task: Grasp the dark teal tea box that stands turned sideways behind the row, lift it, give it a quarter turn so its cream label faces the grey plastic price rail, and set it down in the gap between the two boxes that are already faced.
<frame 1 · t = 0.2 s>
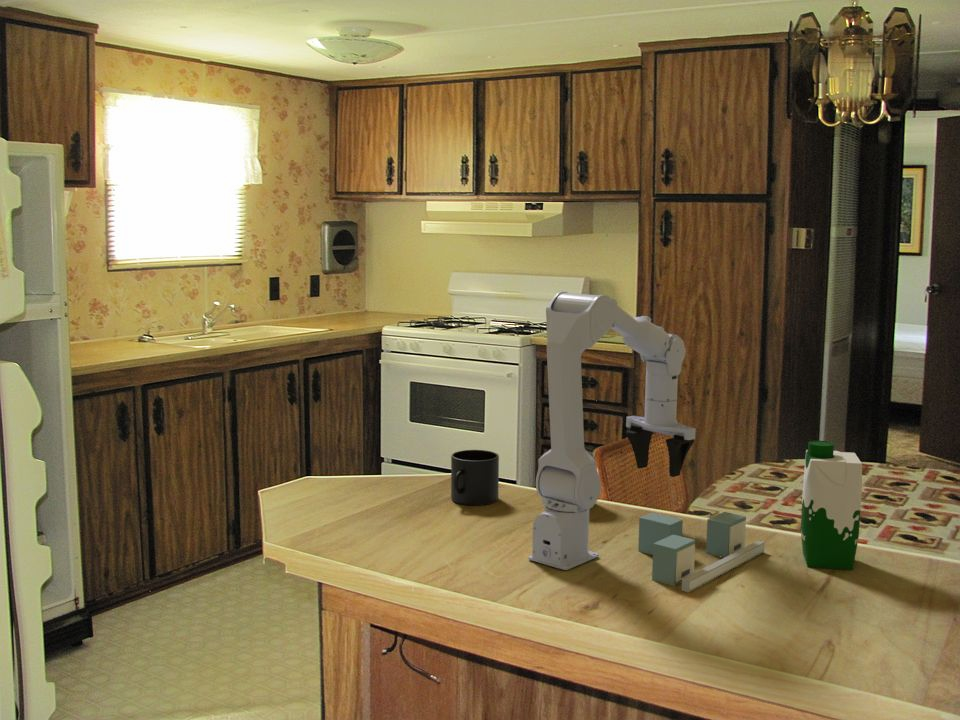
hand: (658, 471, 189), 10 cm above the worktop, fingers open, 7 cm apart
tea box c: (725, 551, 176), on the worktop
cup: (572, 505, 203), on the worktop
tea box b: (659, 552, 175), on the worktop
price rail: (724, 570, 166), on the worktop
milk carton: (827, 562, 171), on the worktop
mug: (471, 501, 205), on the worktop
tea box a: (673, 578, 163), on the worktop
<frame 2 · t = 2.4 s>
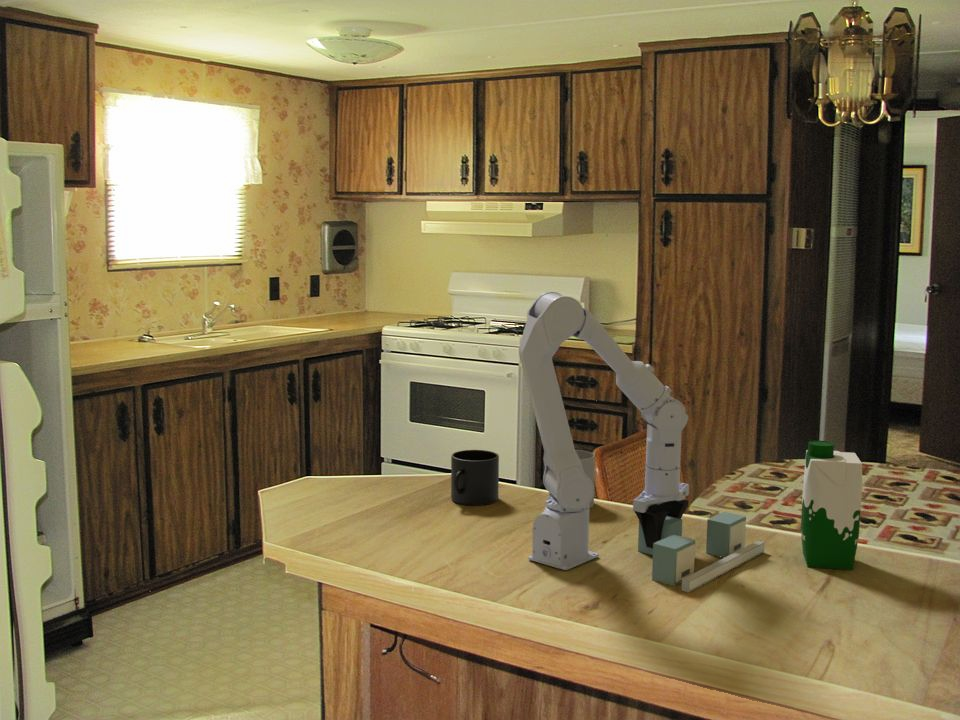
hand: (660, 544, 175), 1 cm above the worktop, fingers closed on tea box b, 4 cm apart
tea box b: (659, 552, 175), on the worktop, touching gripper
everything else where it was.
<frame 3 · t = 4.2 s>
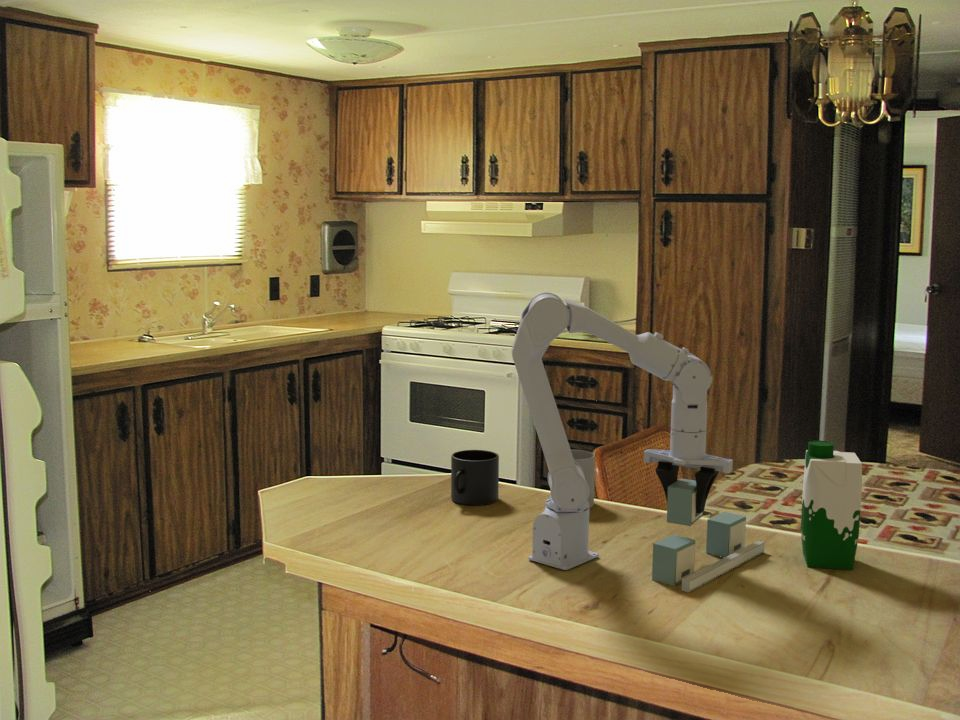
hand: (685, 509, 170), 9 cm above the worktop, fingers closed on tea box b, 4 cm apart
tea box b: (684, 519, 171), point 7 cm above the worktop, touching gripper
everything else where it was.
when the fingers open (2 cm above the worktop, at t = 6.0 s): tea box b stays where it is, on the worktop.
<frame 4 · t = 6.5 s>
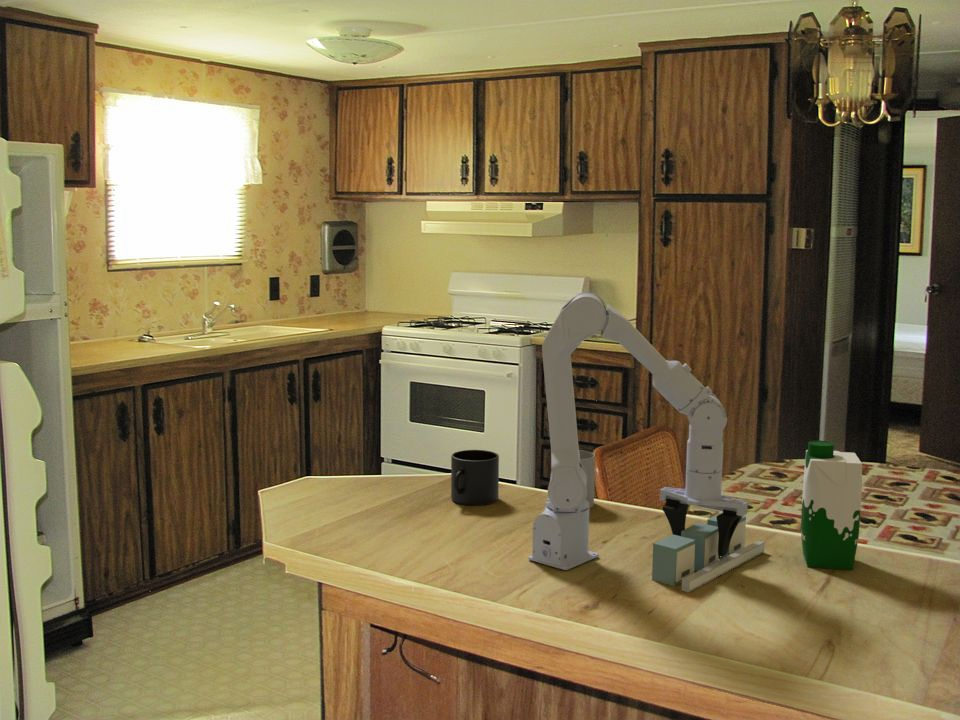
hand: (700, 549, 169), 2 cm above the worktop, fingers open, 7 cm apart
tea box b: (699, 564, 169), on the worktop
everything else where it was.
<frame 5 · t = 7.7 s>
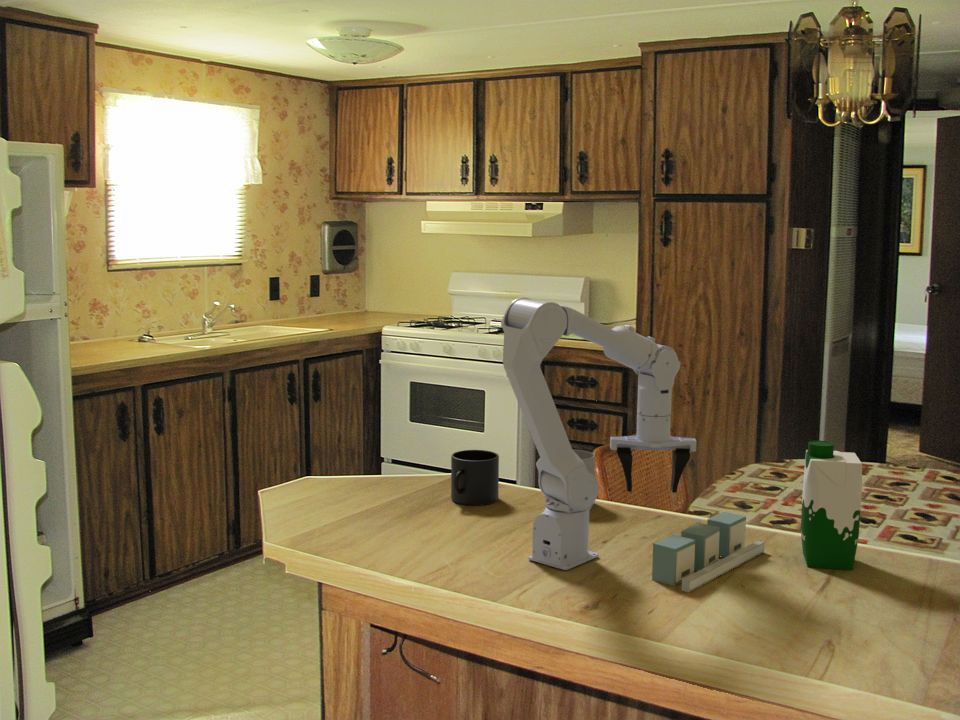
hand: (651, 490, 178), 9 cm above the worktop, fingers open, 7 cm apart
nothing on the worktop moved.
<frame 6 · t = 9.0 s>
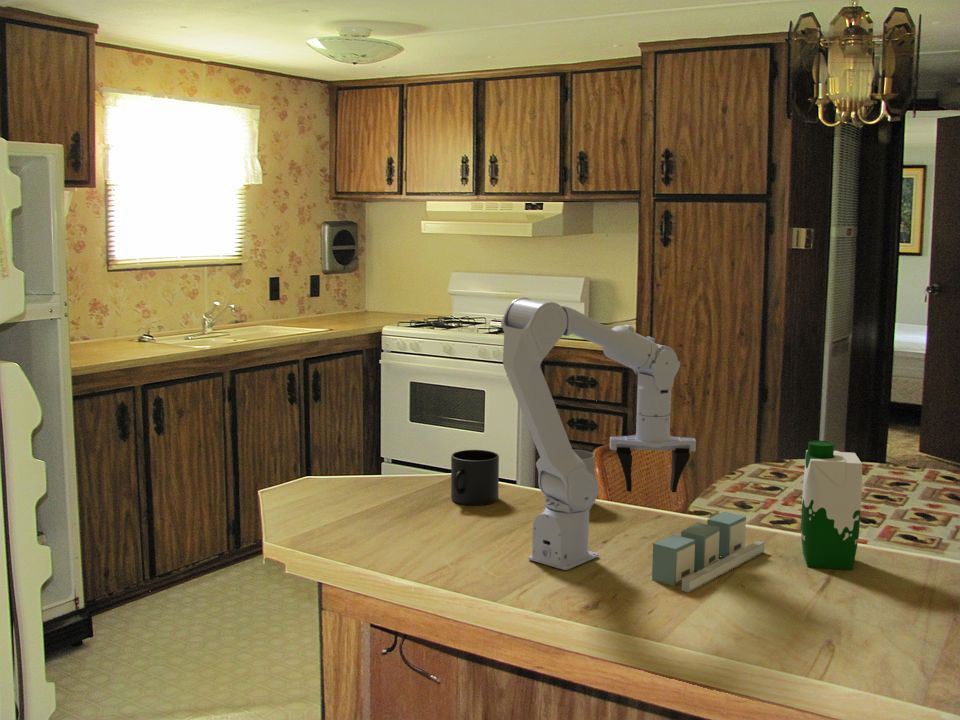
hand: (651, 490, 178), 9 cm above the worktop, fingers open, 7 cm apart
nothing on the worktop moved.
at the end: tea box b 0.1 cm from the target spot, on the worktop; tea box b tilted 0°; the gripper is holding nothing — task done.
